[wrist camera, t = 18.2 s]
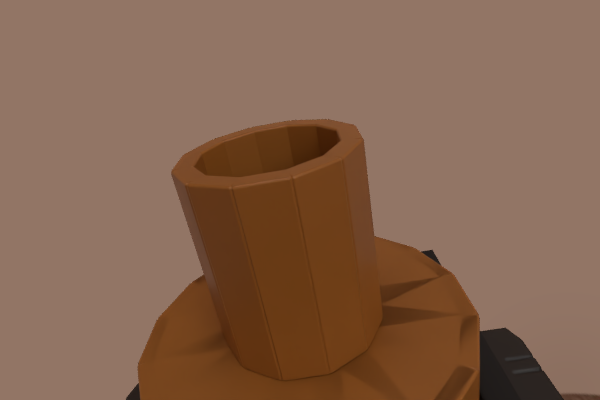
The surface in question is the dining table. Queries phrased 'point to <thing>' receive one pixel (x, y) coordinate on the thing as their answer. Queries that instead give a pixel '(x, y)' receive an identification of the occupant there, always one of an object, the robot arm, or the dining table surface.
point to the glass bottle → (303, 283)
